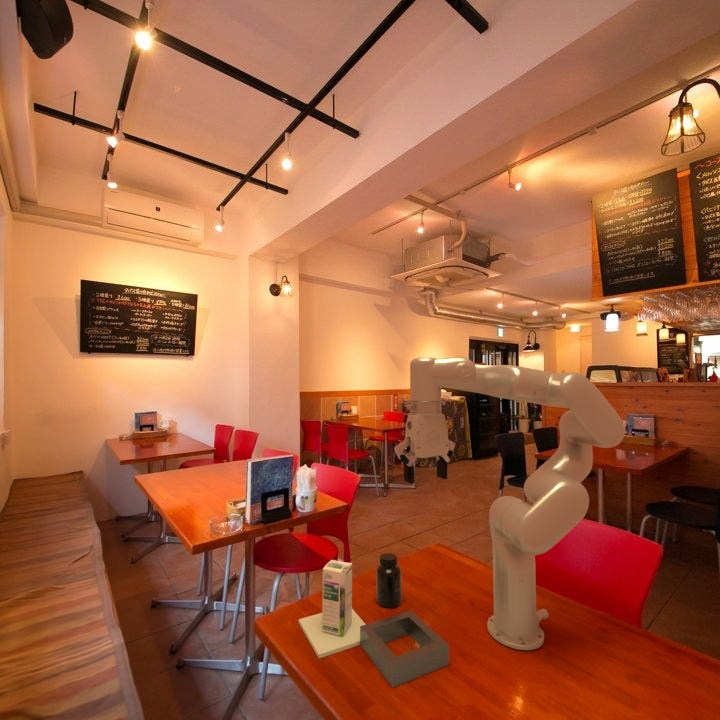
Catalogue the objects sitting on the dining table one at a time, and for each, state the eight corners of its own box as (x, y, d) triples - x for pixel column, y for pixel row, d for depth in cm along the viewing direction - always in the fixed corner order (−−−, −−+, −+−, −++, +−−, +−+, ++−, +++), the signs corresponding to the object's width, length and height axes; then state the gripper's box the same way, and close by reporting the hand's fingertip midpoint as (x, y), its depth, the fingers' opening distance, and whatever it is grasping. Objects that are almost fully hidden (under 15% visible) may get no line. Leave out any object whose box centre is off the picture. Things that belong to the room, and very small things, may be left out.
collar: (410, 627, 94) (410, 610, 94) (448, 664, 81) (448, 644, 82) (360, 644, 87) (360, 626, 88) (392, 687, 75) (392, 666, 75)
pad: (349, 608, 102) (349, 605, 102) (375, 639, 89) (375, 635, 89) (298, 622, 95) (298, 619, 95) (318, 658, 83) (318, 654, 83)
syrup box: (320, 632, 91) (321, 568, 92) (331, 617, 96) (331, 558, 97) (343, 637, 89) (343, 572, 90) (352, 622, 94) (353, 561, 95)
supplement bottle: (395, 593, 109) (395, 549, 110) (405, 606, 103) (405, 560, 104) (372, 597, 107) (372, 552, 108) (381, 611, 101) (381, 563, 101)
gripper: (404, 410, 86) (404, 488, 85) (463, 408, 94) (464, 479, 93) (387, 408, 93) (387, 480, 92) (443, 407, 101) (444, 473, 99)
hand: (426, 480), depth 92 cm, fingers open, 9 cm apart
